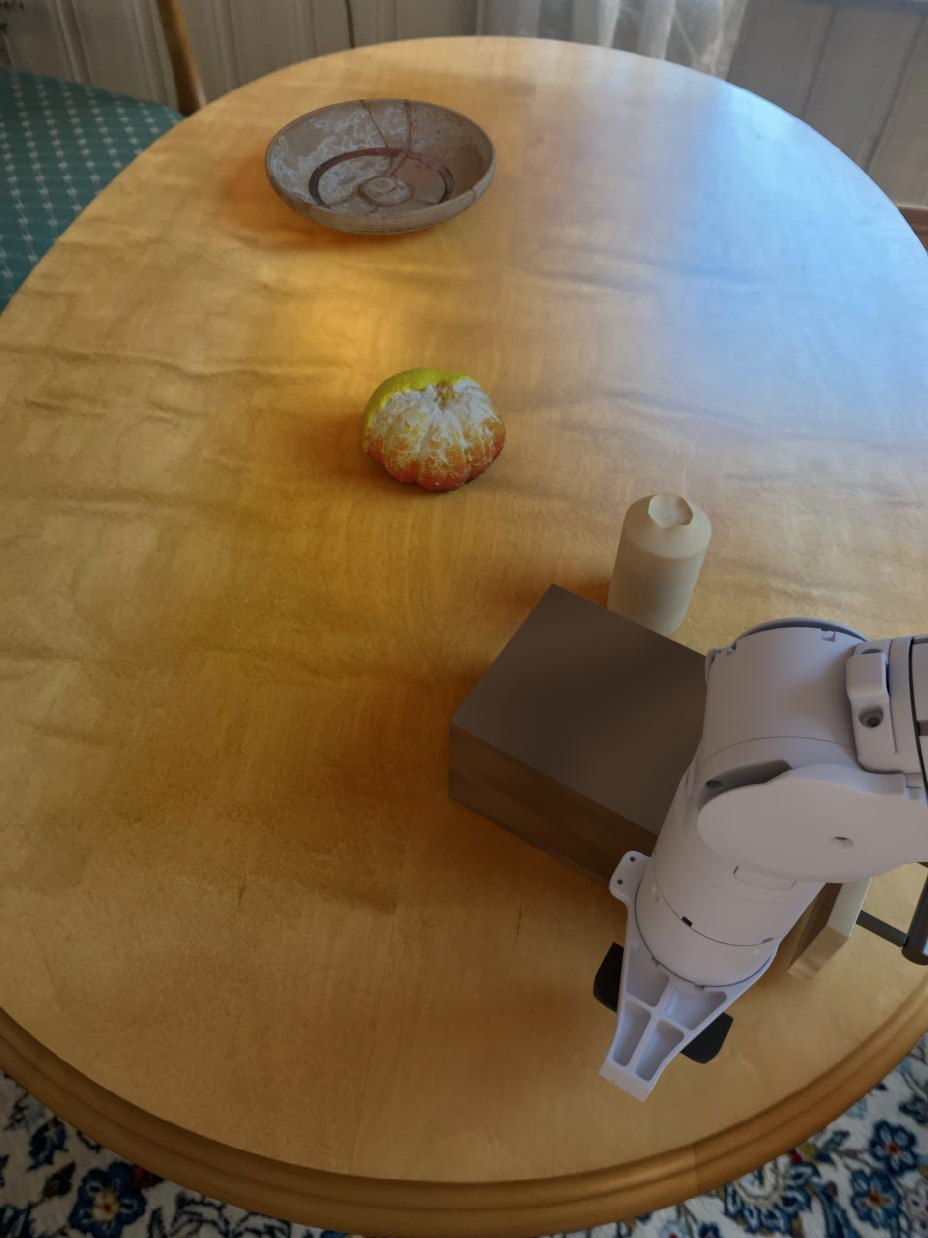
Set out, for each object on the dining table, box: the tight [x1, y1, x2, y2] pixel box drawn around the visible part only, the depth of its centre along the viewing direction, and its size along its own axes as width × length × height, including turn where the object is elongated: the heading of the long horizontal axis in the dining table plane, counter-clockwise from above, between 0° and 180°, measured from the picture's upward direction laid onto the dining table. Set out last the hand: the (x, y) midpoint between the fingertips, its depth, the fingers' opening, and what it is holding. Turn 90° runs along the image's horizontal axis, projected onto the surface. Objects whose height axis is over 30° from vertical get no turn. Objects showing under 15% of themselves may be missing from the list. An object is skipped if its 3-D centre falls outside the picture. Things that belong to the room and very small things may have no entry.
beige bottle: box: [606, 491, 713, 637], centre depth 64 cm, size 6×6×10 cm
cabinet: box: [447, 583, 707, 891], centre depth 56 cm, size 14×12×9 cm
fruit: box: [361, 366, 507, 494], centre depth 75 cm, size 11×10×8 cm
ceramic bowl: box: [264, 97, 497, 236], centre depth 99 cm, size 23×24×5 cm
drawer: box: [786, 862, 928, 984], centre depth 53 cm, size 17×10×7 cm, turn 58°
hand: (665, 986), depth 47 cm, fingers closed on block, 4 cm apart
